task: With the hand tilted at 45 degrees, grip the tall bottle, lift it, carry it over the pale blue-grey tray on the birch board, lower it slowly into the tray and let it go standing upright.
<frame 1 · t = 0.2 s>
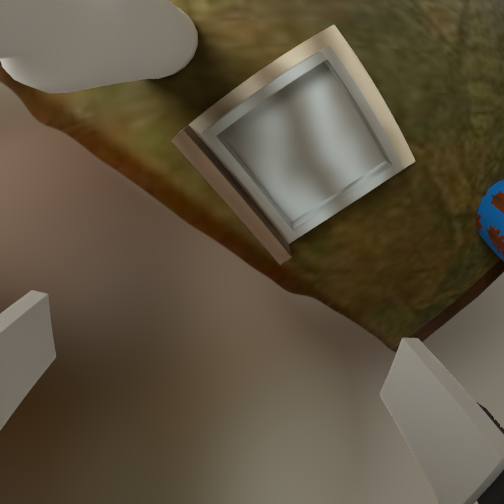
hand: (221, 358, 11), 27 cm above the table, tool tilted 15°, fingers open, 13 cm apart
thermos: (499, 210, 38), on the table
tray: (304, 141, 33), on the table
bottle: (161, 43, 27), on the table
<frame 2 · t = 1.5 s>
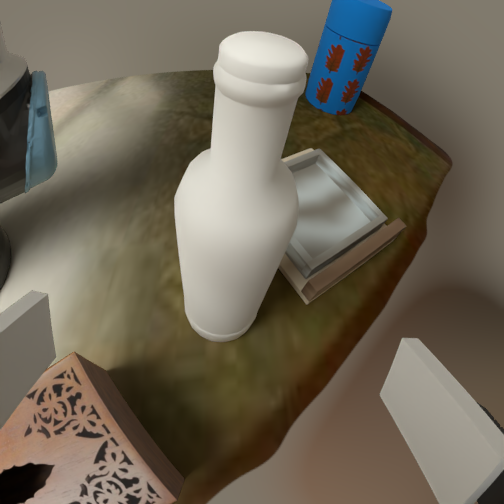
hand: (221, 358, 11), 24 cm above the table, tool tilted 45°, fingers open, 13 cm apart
thermos: (328, 101, 62), on the table
tray: (309, 215, 45), on the table
tissue box cover: (58, 475, 24), on the table
bottle: (220, 310, 37), on the table
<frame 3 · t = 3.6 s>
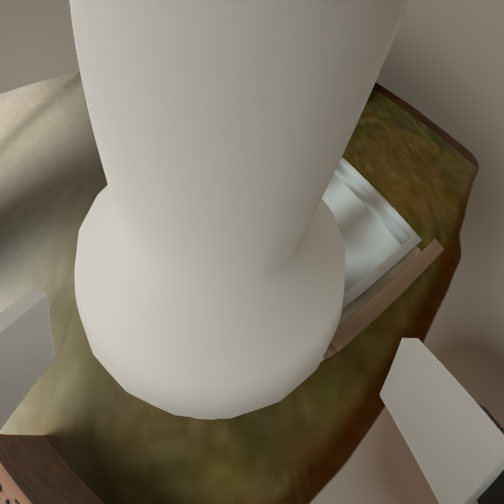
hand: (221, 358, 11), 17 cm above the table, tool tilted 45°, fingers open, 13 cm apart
tray: (322, 236, 34), on the table
bottle: (205, 374, 26), on the table
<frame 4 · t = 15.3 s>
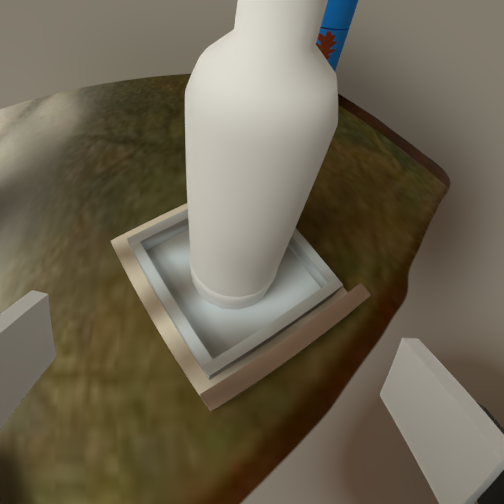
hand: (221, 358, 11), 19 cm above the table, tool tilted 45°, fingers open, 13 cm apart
thermos: (288, 107, 50), on the table
tray: (231, 278, 33), on the table
bottle: (231, 273, 32), point 1 cm above the table, touching tray
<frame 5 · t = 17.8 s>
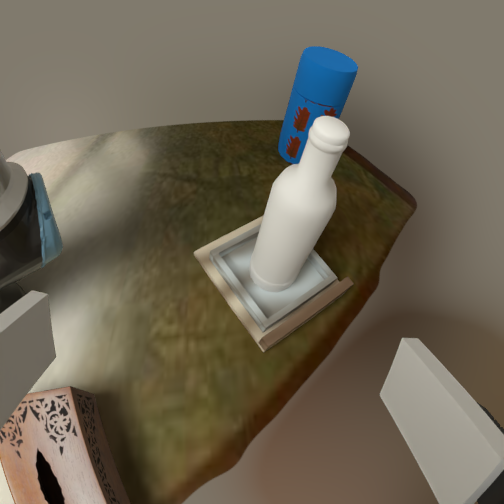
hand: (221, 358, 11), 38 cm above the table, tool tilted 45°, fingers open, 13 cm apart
thermos: (300, 152, 72), on the table
tray: (270, 274, 55), on the table
tissue box cover: (78, 478, 34), on the table
bottle: (272, 271, 54), point 1 cm above the table, touching tray
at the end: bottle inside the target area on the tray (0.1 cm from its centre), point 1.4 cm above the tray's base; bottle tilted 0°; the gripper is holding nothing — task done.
